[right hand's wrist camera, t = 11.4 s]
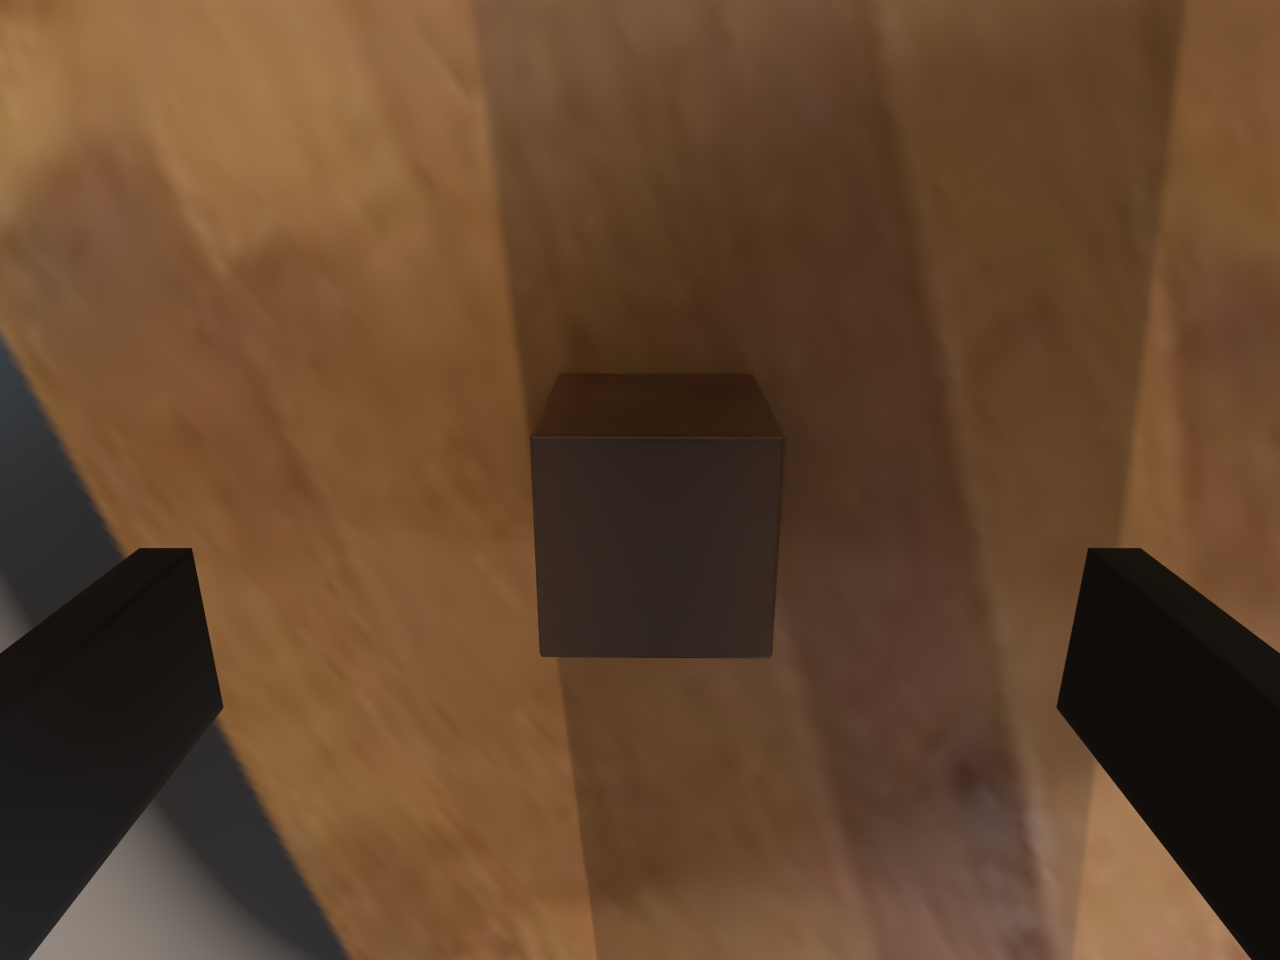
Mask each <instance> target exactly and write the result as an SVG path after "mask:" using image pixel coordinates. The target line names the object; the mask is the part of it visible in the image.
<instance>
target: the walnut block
mask: <svg viewBox="0 0 1280 960" xmlns="http://www.w3.org/2000/svg"><path fill="white" fill-rule="evenodd" d="M784 450H785V438H784V435H783V434H782V432H781V430H780V428H779V426H778V424H777V422H776V420H775V418H774V416H773V414H772V412H771V410H770V408H769V406H768V404H767V402H766V400H765V398H764V396H763V395H762V393H761V391H760V389H759V387H758V385H757V383H756V381H755V379H754V377H753V375H750V374H560V375H559V376H558V378H557V380H556V383H555V385H554V387H553V389H552V391H551V393H550V396H549V398H548V400H547V402H546V404H545V406H544V409H543V411H542V413H541V415H540V417H539V420H538V422H537V424H536V426H535V428H534V430H533V433H532V435H531V437H530V451H531V473H532V495H533V517H534V539H535V561H536V583H537V605H538V627H539V649H540V654H541V656H542V657H628V658H771V655H772V649H773V633H774V616H775V599H776V583H777V566H778V549H779V533H780V516H781V500H782V483H783V466H784Z"/></svg>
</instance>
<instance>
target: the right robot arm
mask: <svg viewBox="0 0 1280 960" xmlns="http://www.w3.org/2000/svg"><path fill="white" fill-rule="evenodd" d="M222 709H223V703H222V698H221V693H220V688H219V683H218V678H217V673H216V668H215V663H214V658H213V653H212V648H211V642H210V637H209V632H208V627H207V622H206V617H205V612H204V607H203V602H202V597H201V592H200V587H199V582H198V577H197V572H196V567H195V562H194V557H193V552H192V548H139V549H138V550H136V551H135V552H134V553H132V554H131V555H130V556H129V557H127V558H126V559H125V560H123V561H122V562H121V563H119V564H118V565H117V566H115V567H114V568H113V569H111V570H110V571H109V572H107V573H106V574H105V575H103V576H102V577H101V578H99V579H98V580H97V581H95V582H94V583H93V584H92V585H90V586H89V587H88V588H86V589H85V590H84V591H82V592H81V593H80V594H78V595H77V596H76V597H74V598H73V599H72V600H70V601H69V602H68V603H66V604H65V605H64V606H62V607H61V608H60V609H58V610H57V611H56V612H55V613H53V614H52V615H51V616H49V617H48V618H47V619H45V620H44V621H43V622H41V623H40V624H39V625H37V626H36V627H35V628H33V629H32V630H31V631H29V632H28V633H27V634H25V635H24V636H23V637H21V638H20V639H19V640H18V641H16V642H15V643H14V644H12V645H11V646H10V647H8V648H7V649H6V650H4V651H3V652H2V653H0V960H29V958H30V957H31V956H32V954H33V953H34V952H35V951H36V949H37V948H38V947H39V945H40V944H41V943H42V942H43V940H44V939H45V938H46V936H47V935H48V934H49V933H50V931H51V930H52V929H53V927H54V926H55V925H56V923H57V922H58V921H59V920H60V918H61V917H62V916H63V914H64V913H65V912H66V910H67V909H68V908H69V907H70V905H71V904H72V903H73V901H74V900H75V899H76V898H77V896H78V895H79V894H80V892H81V891H82V890H83V889H84V887H85V886H86V885H87V883H88V882H89V881H90V880H91V878H92V877H93V876H94V874H95V873H96V872H97V870H98V869H99V868H100V867H101V865H102V864H103V863H104V861H105V860H106V859H107V858H108V856H109V855H110V854H111V852H112V851H113V850H114V849H115V847H116V846H117V845H118V843H119V842H120V841H121V840H122V838H123V837H124V836H125V834H126V833H127V832H128V830H129V829H130V828H131V827H132V825H133V824H134V823H135V821H136V820H137V819H138V818H139V816H140V815H141V814H142V812H143V811H144V810H145V808H146V807H147V806H148V805H149V803H150V802H151V801H152V799H153V798H154V797H155V795H156V794H157V793H158V792H159V790H160V789H161V788H162V786H163V785H164V784H165V783H166V781H167V780H168V779H169V777H170V776H171V775H172V774H173V772H174V771H175V770H176V768H177V767H178V766H179V765H180V763H181V762H182V761H183V759H184V758H185V757H186V756H187V754H188V753H189V752H190V750H191V749H192V748H193V746H194V745H195V744H196V743H197V741H198V740H199V739H200V737H201V736H202V735H203V733H204V732H205V731H206V730H207V728H208V727H209V726H210V724H211V723H212V722H213V721H214V719H215V718H216V717H217V715H218V714H219V713H220V712H221V710H222ZM1057 709H1058V710H1059V712H1060V713H1061V714H1062V715H1063V717H1064V718H1065V719H1066V721H1067V722H1068V723H1069V725H1070V726H1071V727H1072V728H1073V730H1074V731H1075V732H1076V734H1077V735H1078V736H1079V737H1080V739H1081V740H1082V741H1083V743H1084V744H1085V745H1086V746H1087V748H1088V749H1089V750H1090V752H1091V753H1092V754H1093V756H1094V757H1095V758H1096V759H1097V761H1098V762H1099V763H1100V765H1101V766H1102V767H1103V768H1104V770H1105V771H1106V772H1107V774H1108V775H1109V776H1110V777H1111V779H1112V780H1113V781H1114V783H1115V784H1116V785H1117V787H1118V788H1119V789H1120V790H1121V792H1122V793H1123V794H1124V796H1125V797H1126V798H1127V799H1128V801H1129V802H1130V803H1131V805H1132V806H1133V807H1134V809H1135V810H1136V811H1137V812H1138V814H1139V815H1140V816H1141V818H1142V819H1143V820H1144V821H1145V823H1146V824H1147V825H1148V827H1149V828H1150V829H1151V830H1152V832H1153V833H1154V834H1155V836H1156V837H1157V838H1158V840H1159V841H1160V842H1161V843H1162V845H1163V846H1164V847H1165V849H1166V850H1167V851H1168V852H1169V854H1170V855H1171V856H1172V858H1173V859H1174V860H1175V861H1176V863H1177V864H1178V865H1179V867H1180V868H1181V869H1182V871H1183V872H1184V873H1185V874H1186V876H1187V877H1188V878H1189V880H1190V881H1191V882H1192V883H1193V885H1194V886H1195V887H1196V889H1197V890H1198V891H1199V892H1200V894H1201V895H1202V896H1203V898H1204V899H1205V900H1206V902H1207V903H1208V904H1209V905H1210V907H1211V908H1212V909H1213V911H1214V912H1215V913H1216V914H1217V916H1218V917H1219V918H1220V920H1221V921H1222V922H1223V924H1224V925H1225V926H1226V927H1227V929H1228V930H1229V931H1230V933H1231V934H1232V935H1233V936H1234V938H1235V939H1236V940H1237V942H1238V943H1239V944H1240V945H1241V947H1242V948H1243V949H1244V951H1245V952H1246V953H1247V955H1248V956H1249V957H1250V958H1251V960H1280V653H1278V652H1277V651H1276V650H1274V649H1273V648H1272V647H1270V646H1269V645H1268V644H1266V643H1265V642H1264V641H1263V640H1261V639H1260V638H1259V637H1257V636H1256V635H1255V634H1253V633H1252V632H1251V631H1249V630H1248V629H1247V628H1245V627H1244V626H1243V625H1241V624H1240V623H1239V622H1237V621H1236V620H1235V619H1233V618H1232V617H1231V616H1229V615H1228V614H1227V613H1225V612H1224V611H1223V610H1222V609H1220V608H1219V607H1218V606H1216V605H1215V604H1214V603H1212V602H1211V601H1210V600H1208V599H1207V598H1206V597H1204V596H1203V595H1202V594H1200V593H1199V592H1198V591H1196V590H1195V589H1194V588H1192V587H1191V586H1190V585H1188V584H1187V583H1186V582H1185V581H1183V580H1182V579H1181V578H1179V577H1178V576H1177V575H1175V574H1174V573H1173V572H1171V571H1170V570H1169V569H1167V568H1166V567H1165V566H1163V565H1162V564H1161V563H1159V562H1158V561H1157V560H1155V559H1154V558H1153V557H1151V556H1150V555H1149V554H1148V553H1146V552H1145V551H1144V550H1142V549H1141V548H1088V552H1087V557H1086V562H1085V567H1084V572H1083V577H1082V582H1081V587H1080V592H1079V597H1078V602H1077V607H1076V612H1075V617H1074V622H1073V627H1072V632H1071V637H1070V642H1069V647H1068V653H1067V658H1066V663H1065V668H1064V673H1063V678H1062V683H1061V688H1060V693H1059V698H1058V703H1057Z"/></svg>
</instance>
